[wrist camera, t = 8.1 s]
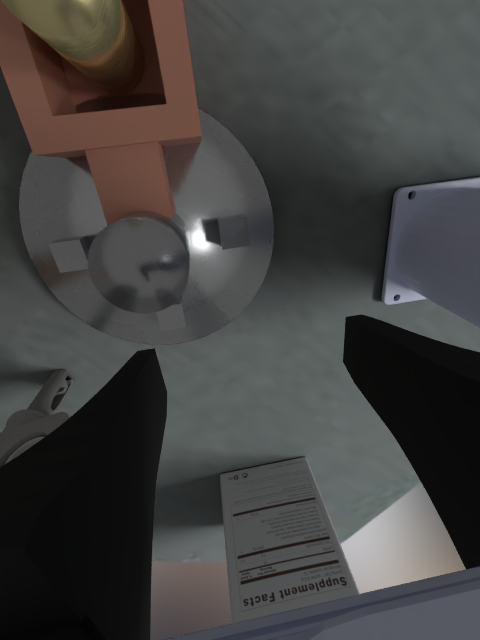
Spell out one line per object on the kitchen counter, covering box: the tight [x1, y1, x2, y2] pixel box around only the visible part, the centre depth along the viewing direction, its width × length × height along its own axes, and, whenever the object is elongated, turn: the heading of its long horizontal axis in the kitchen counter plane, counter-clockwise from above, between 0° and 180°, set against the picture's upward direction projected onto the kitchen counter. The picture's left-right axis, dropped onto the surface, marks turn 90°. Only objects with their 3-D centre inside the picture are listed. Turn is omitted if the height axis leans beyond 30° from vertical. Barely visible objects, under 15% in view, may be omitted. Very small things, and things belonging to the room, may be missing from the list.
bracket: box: [0, 0, 202, 226], centre depth 13 cm, size 7×10×4 cm
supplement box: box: [220, 457, 359, 623], centre depth 25 cm, size 9×9×15 cm
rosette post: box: [19, 91, 274, 345], centre depth 15 cm, size 14×14×7 cm
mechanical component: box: [0, 369, 74, 467], centre depth 17 cm, size 3×10×10 cm, turn 108°
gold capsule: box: [1, 0, 145, 95], centre depth 10 cm, size 3×3×7 cm
